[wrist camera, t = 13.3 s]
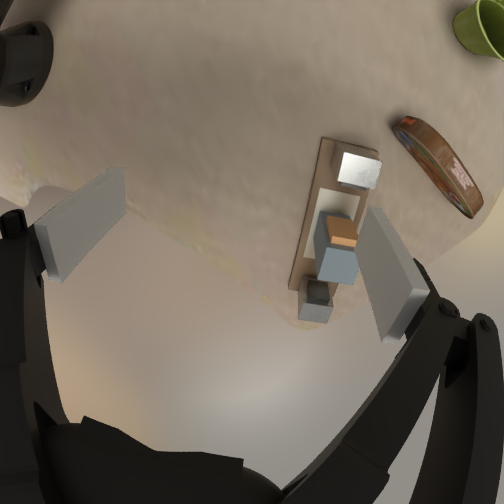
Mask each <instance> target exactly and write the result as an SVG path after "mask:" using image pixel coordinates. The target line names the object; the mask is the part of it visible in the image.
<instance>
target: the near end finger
mask: <svg viewBox="0 0 504 504" xmlns="http://www.w3.org/2000/svg"><path fill="white" fill-rule="evenodd" d="M381 164H382V162H381V161H380V160H379V159H378V158H377V157H376V156H375V155H373V154H372V153H371V152H370V151H369V150H368V149H364V148H360V147H356V146H352V145H348V144H344V143H340V142H335V146H334V150H333V155H332V160H331V164H330V166H331V168H332V170H333V172H334V174H335V176H336V178H337V181H339V182H340V185H342V186H346V187H351V188H355V189H359V190H363V191H366V189H367V188H371V189H375V185H376V182H377V178H378V175H379V171H380V167H381Z"/></svg>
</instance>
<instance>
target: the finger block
mask: <svg viewBox="0 0 504 504" xmlns="http://www.w3.org/2000/svg"><path fill="white" fill-rule="evenodd" d="M357 239H358V234H357V231H356V229H355V226H354V224H353V221H352V220H351V218H350V216H346V215H341V214H336V213H331V212H325V211H319V215H318V220H317V224H316V228H315V232H314V236H313V242H314V251H315V260H316V270H317V280H323V281H330V282H336V283H343V284H349V285H353V283H354V281H355V278H356V275H357V273H358V270H359V264H358V261H357V258H356V255H355V252H354V248H355V245H356V242H357Z"/></svg>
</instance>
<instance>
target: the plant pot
mask: <svg viewBox="0 0 504 504" xmlns="http://www.w3.org/2000/svg"><path fill="white" fill-rule="evenodd" d="M453 27H454V32H455V34H456V37H457V38H458V40H459V41H460V42H461V43H462V44H463V45H464V47H465V48H466V49H467V50H469V51H470V52H472V53H476V54H481V55H486V56H491V57H495V58H499V59H501V60H502V61H503V62H504V0H477V1H476V2H475V4H473V5H471V6H470V7H468V8H466V9H465V10H463V11H461V12H460V13H458V14H457V15H456V17H455V18H454V21H453Z"/></svg>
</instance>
